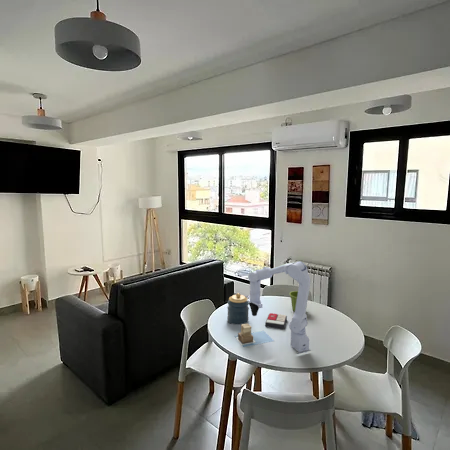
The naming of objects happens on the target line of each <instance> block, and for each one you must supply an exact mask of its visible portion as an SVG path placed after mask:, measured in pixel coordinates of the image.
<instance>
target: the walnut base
mask: <svg viewBox="0 0 450 450" xmlns="http://www.w3.org/2000/svg"><path fill="white" fill-rule="evenodd" d="M237 335H238V339H239V340H240V341H241V342H242V344H244V343H249V342H253V336H252V335H251V336H247V337H244V336H243V335H242V334H241V332H238V333H237Z"/></svg>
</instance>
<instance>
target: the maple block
mask: <svg viewBox="0 0 450 450" xmlns="http://www.w3.org/2000/svg"><path fill="white" fill-rule="evenodd" d="M240 325H241V326H240V333H241V334H242V335H243V336H244V337H247V336H251V333H252V326H251V325H250V323H244V324H240Z"/></svg>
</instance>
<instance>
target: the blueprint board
mask: <svg viewBox="0 0 450 450" xmlns="http://www.w3.org/2000/svg"><path fill="white" fill-rule="evenodd" d="M251 335H252V336H253V342H249V343H244V344H242V342H241V341H240V340H239V339H238V334H237V335H234V338H235V339H236V340H237V341H238V343H239V344H240V345H241V346H242V348H245V347H250V346H257V345H261V344H266V343H271V342H275V340H274V339H273V338H272V337H271V336H270V335H269V334H268V333H267V332H266V331H264V330H260V331H255V332H253V331H252V332H251Z"/></svg>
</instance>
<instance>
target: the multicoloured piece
mask: <svg viewBox="0 0 450 450" xmlns="http://www.w3.org/2000/svg"><path fill="white" fill-rule="evenodd" d="M287 321H288V316H287V315H286V314H280V313H279V314H278V313H273V312H270V313H269V314H268V315H267V318H266V321H265V322H264V323H265V325H264V326H265V327H266V328H273V329H280V330H285V328H286V324H287Z"/></svg>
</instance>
